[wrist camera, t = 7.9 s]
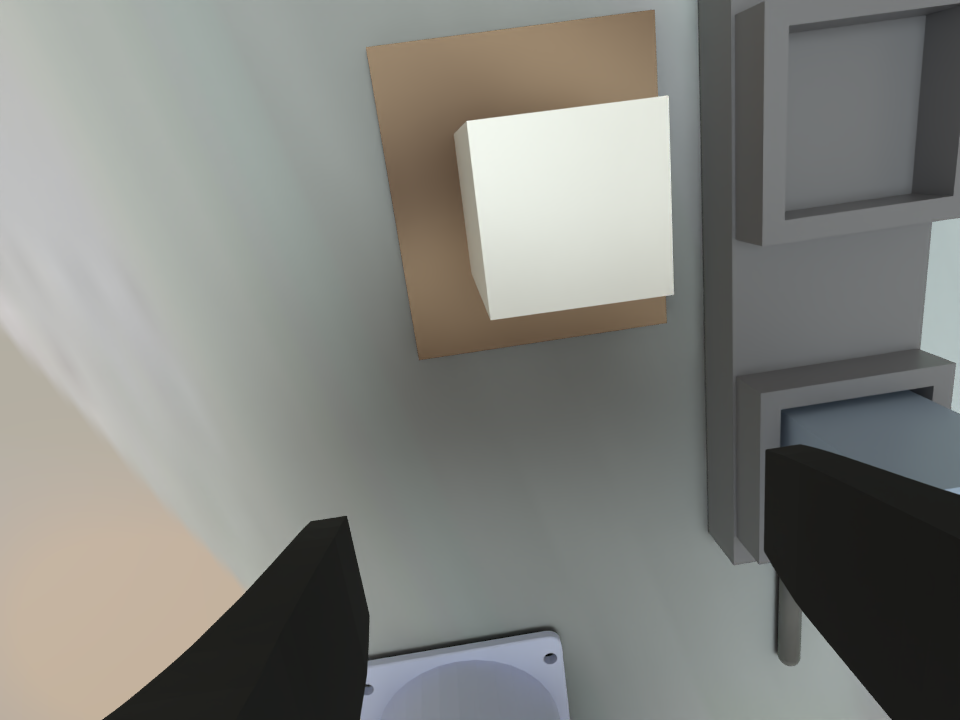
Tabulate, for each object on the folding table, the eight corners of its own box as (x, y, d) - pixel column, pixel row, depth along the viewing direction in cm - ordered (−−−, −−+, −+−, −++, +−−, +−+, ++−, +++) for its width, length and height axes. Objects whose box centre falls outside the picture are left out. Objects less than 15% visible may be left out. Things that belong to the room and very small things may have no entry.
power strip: (854, 643, 25) (919, 715, 22) (711, 667, 25) (754, 744, 22) (901, -39, 18) (1010, -84, 15) (698, -12, 18) (761, -53, 14)
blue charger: (878, 490, 21) (1048, 614, 15) (762, 509, 21) (890, 641, 15) (887, 379, 20) (1075, 468, 14) (764, 398, 20) (903, 496, 14)
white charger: (600, 255, 19) (673, 294, 13) (471, 272, 19) (490, 320, 13) (591, 116, 18) (668, 95, 12) (453, 134, 18) (466, 120, 12)
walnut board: (659, 318, 21) (666, 322, 20) (419, 354, 20) (419, 360, 20) (647, 14, 18) (654, 9, 17) (367, 50, 17) (365, 47, 17)
